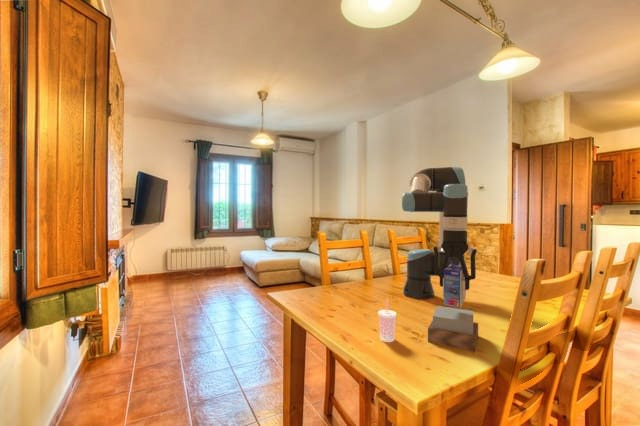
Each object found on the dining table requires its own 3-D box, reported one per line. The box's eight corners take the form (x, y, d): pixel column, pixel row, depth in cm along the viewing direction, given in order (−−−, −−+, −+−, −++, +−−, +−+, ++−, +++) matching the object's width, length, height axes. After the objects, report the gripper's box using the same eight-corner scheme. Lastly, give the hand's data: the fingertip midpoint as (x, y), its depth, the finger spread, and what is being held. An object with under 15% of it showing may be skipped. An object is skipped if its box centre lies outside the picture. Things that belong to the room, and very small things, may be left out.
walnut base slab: (427, 342, 99) (427, 328, 98) (435, 328, 110) (435, 315, 110) (475, 353, 91) (475, 337, 91) (478, 337, 103) (478, 323, 103)
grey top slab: (432, 327, 99) (432, 315, 99) (436, 316, 109) (436, 305, 109) (473, 335, 93) (473, 322, 93) (473, 322, 104) (473, 311, 104)
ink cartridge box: (447, 297, 106) (449, 257, 106) (464, 300, 104) (466, 259, 103) (442, 304, 98) (444, 261, 98) (460, 308, 95) (462, 263, 95)
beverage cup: (391, 344, 96) (391, 301, 96) (374, 339, 100) (374, 298, 100) (399, 338, 101) (399, 297, 100) (383, 333, 105) (383, 294, 104)
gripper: (424, 229, 102) (423, 295, 103) (485, 231, 93) (484, 305, 93) (429, 228, 109) (428, 291, 109) (486, 230, 99) (485, 299, 99)
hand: (454, 297), depth 101 cm, fingers closed on ink cartridge box, 5 cm apart
